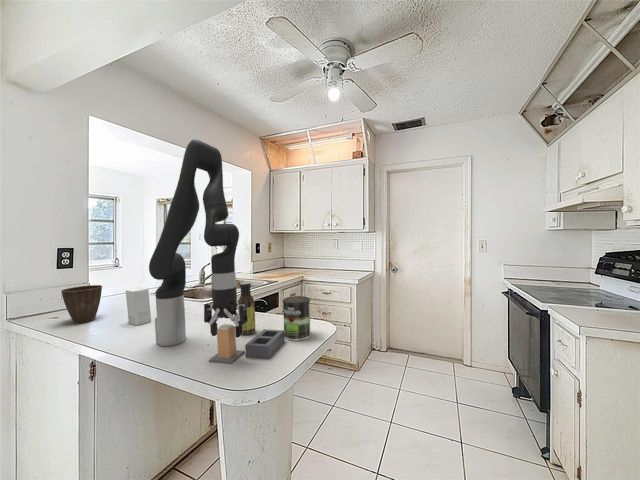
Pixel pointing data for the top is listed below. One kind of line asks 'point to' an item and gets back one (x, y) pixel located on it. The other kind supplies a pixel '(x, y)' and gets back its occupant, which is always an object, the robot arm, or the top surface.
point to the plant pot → (82, 302)
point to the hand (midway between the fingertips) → (226, 335)
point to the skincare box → (138, 306)
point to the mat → (227, 360)
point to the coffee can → (296, 318)
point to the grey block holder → (265, 344)
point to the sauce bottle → (249, 301)
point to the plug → (226, 341)
